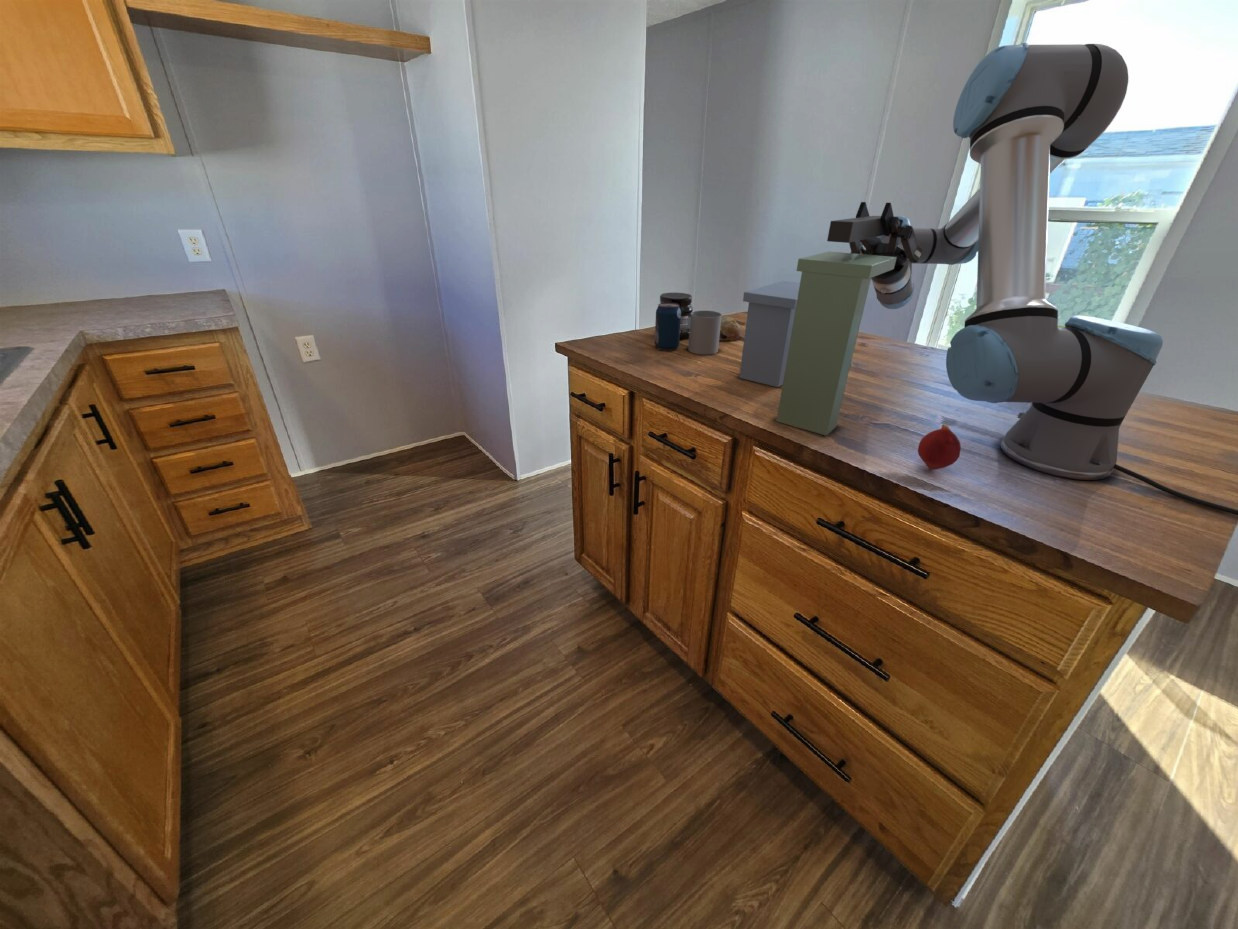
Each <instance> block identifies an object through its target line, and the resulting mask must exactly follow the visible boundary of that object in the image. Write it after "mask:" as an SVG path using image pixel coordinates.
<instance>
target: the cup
mask: <svg viewBox="0 0 1238 929" xmlns="http://www.w3.org/2000/svg"><path fill="white" fill-rule="evenodd" d="M721 317H723V314H722V313H720V312H719V311H715V310H693V311H692V312H691V318H690V332H689V337H688V345H687V346H688V347H687V350H688V351H689V352H690V353H693V354H695V355H714V354H717V353H718V352H719V345H720V340H719V336H720V326H721Z"/></svg>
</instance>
